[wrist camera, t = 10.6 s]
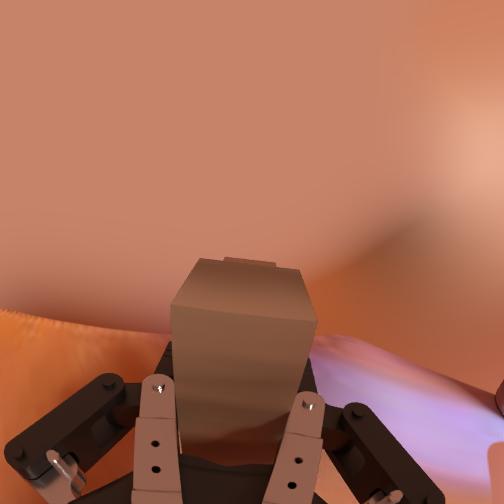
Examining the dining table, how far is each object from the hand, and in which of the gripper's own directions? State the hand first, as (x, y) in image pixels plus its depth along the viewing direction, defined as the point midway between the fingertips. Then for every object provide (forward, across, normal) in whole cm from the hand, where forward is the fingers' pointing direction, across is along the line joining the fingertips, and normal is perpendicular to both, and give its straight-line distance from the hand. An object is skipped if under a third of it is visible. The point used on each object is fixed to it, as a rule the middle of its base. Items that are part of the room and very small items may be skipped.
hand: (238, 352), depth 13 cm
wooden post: (-3, 0, +7) cm, 8 cm away
